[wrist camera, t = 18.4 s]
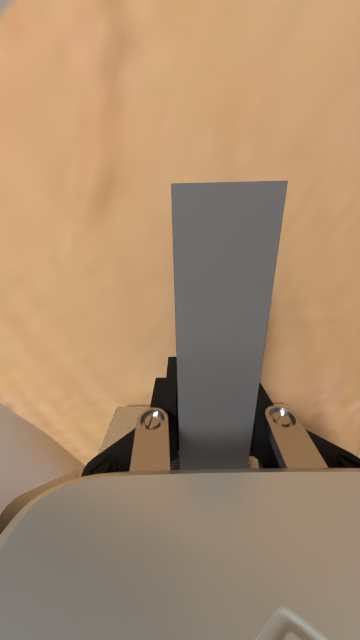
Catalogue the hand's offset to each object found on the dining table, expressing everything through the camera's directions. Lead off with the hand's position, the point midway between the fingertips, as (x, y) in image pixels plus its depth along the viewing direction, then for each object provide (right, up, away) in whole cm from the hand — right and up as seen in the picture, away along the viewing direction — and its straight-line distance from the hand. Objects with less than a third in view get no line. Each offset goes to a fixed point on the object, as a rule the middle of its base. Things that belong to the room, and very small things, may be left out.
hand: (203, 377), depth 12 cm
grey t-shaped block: (0, +3, 0) cm, 3 cm away
